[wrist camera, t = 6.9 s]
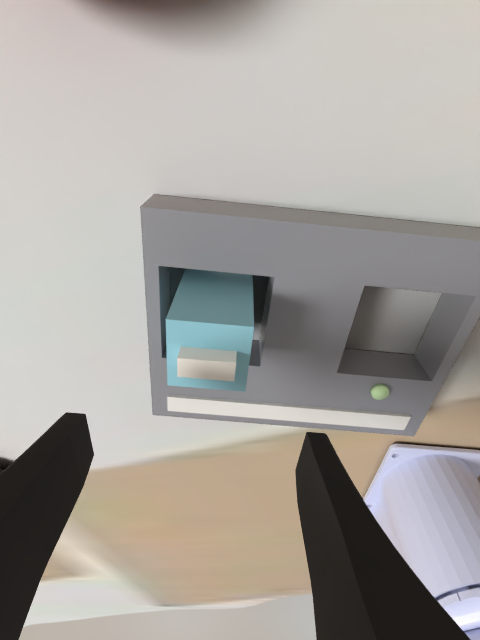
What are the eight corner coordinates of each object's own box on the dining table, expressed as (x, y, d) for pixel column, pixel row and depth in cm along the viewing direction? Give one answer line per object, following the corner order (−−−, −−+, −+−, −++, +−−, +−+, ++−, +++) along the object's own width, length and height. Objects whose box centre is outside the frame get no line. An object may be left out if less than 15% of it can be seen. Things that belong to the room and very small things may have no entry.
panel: (399, 407, 24) (416, 440, 22) (161, 387, 24) (151, 418, 21) (486, 228, 17) (523, 247, 15) (153, 194, 17) (138, 208, 15)
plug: (246, 322, 21) (245, 404, 15) (187, 317, 21) (163, 397, 15) (252, 268, 19) (254, 338, 13) (187, 262, 19) (161, 330, 13)
